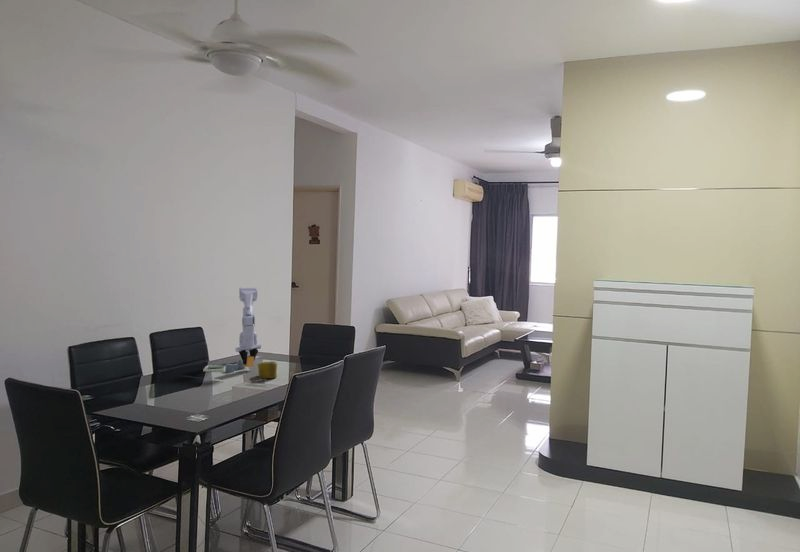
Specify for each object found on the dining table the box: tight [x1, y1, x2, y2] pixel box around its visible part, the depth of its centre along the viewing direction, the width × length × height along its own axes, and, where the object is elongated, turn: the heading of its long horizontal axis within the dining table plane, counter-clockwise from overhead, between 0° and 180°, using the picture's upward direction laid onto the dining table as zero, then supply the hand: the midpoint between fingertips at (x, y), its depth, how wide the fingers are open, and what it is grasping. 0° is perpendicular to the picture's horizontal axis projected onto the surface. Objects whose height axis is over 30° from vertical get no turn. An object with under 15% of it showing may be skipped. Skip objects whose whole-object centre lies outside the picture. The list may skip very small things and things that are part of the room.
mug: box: [257, 361, 278, 380], centre depth 306 cm, size 12×10×10 cm
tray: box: [202, 364, 225, 372], centre depth 320 cm, size 11×11×2 cm
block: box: [243, 356, 255, 368], centre depth 317 cm, size 4×4×5 cm
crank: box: [224, 359, 246, 373], centre depth 319 cm, size 12×5×4 cm, turn 158°
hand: (248, 363), depth 317 cm, fingers closed on block, 4 cm apart
